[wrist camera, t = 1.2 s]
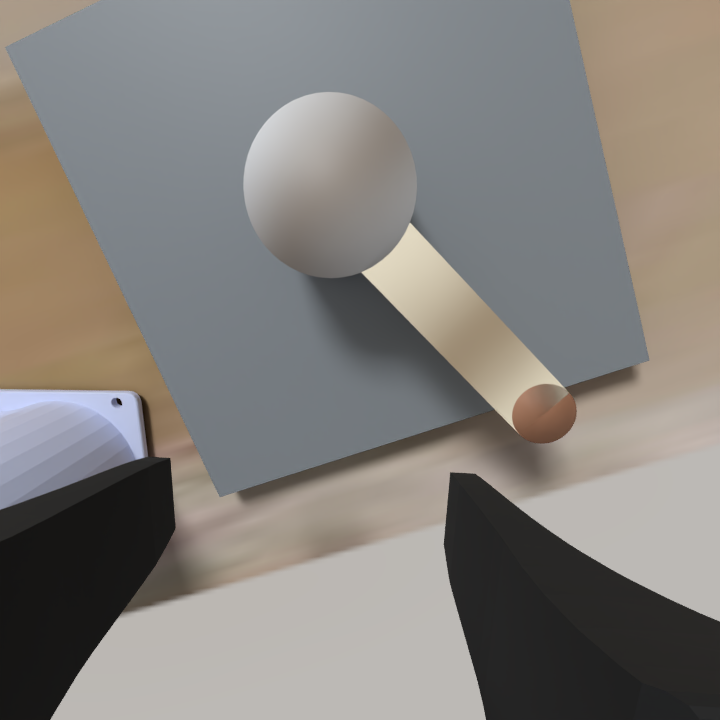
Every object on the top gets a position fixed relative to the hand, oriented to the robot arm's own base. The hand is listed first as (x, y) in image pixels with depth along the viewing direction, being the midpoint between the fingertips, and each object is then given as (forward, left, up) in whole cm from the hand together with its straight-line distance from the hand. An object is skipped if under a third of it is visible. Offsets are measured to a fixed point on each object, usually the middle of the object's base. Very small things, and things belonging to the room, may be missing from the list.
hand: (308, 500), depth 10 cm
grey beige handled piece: (+3, +5, -8) cm, 10 cm away
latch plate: (0, +8, -9) cm, 12 cm away
